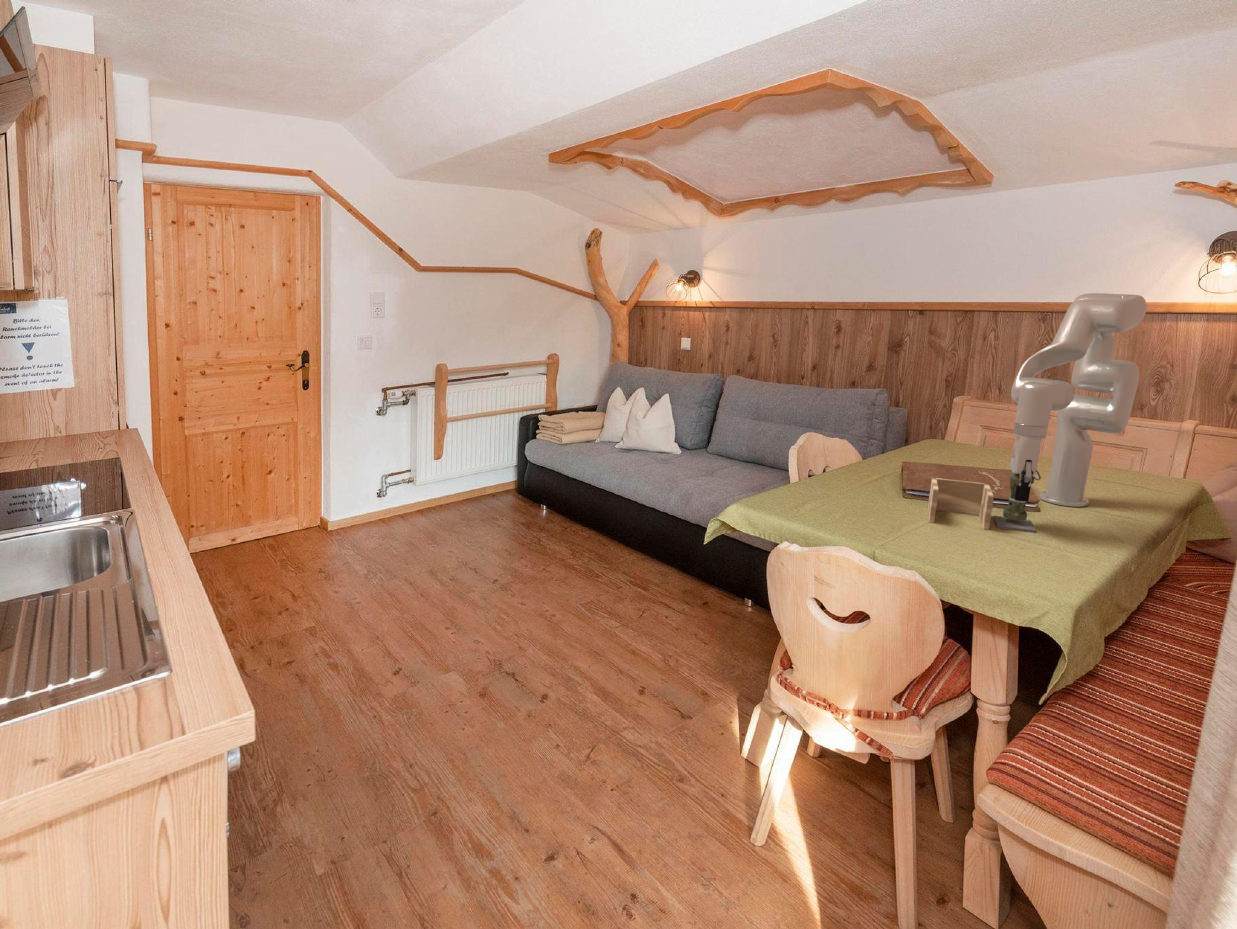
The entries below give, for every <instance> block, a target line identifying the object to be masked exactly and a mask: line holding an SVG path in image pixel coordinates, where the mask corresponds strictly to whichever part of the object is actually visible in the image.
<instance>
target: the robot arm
mask: <svg viewBox="0 0 1237 929" xmlns="http://www.w3.org/2000/svg"><path fill="white" fill-rule="evenodd" d="M1147 308H1148V306H1147V301H1146V299H1145V298H1144V296H1142V295H1140V294H1129V293H1128V294H1124V293H1123V294H1122V293H1106V292H1105V293H1103V292H1102V293H1101V292H1098V293H1097V292H1096V293H1095V292H1092V293H1085V294H1084V293H1083V294H1080V295H1078V296H1077V297H1075V299H1074V301H1073V302H1072V303H1071V304H1070V305H1069V307H1068V309H1067V310H1066V313H1065V314H1064V317H1063V319H1062V321H1061V323H1060V325H1059V328H1058V330H1057V331H1056V333H1055V336H1054V338H1053V340H1052V342H1051V343H1050V344H1049V345H1047V346H1045V347H1043V348H1042V349H1040V350H1038V351H1037V352H1035V353H1034V354H1032V355H1031V356H1029V357H1028V358H1027V359H1026V360H1025V361H1024V362H1023V363H1022V365H1021V366H1020V368H1019V371H1018V373H1017V374H1016V377H1015V379H1014V380H1013V381H1014V382H1013V383H1012V386H1011V390H1010V395H1011V399H1012V401H1013V402H1014V403H1015V404H1017V407H1016V414H1015V419H1014V426H1013V433H1012V434H1013V436H1014V437H1015V439H1014V443H1013V448H1012V453H1011V456H1010V462H1009V468H1010V470H1011V471H1012V472H1011V473H1014V474H1015V475H1017V474H1019V481H1018V485H1017V486H1016V492H1015V498H1014V499H1015V500H1017V501H1026V503H1027V502H1029V499H1030V494H1031V489H1032V486H1031V485H1032V484H1031V477H1032V476H1034V477H1035V475H1036V474H1037V472H1036V470H1037V468H1038V463H1039V456H1040V449H1041V440H1045V439H1047V434H1048V428H1049V424H1050V423H1049V422H1050V418H1051V411H1053V410H1056V422H1057V423H1056V424H1057V425H1056V433H1055V434H1056V436H1055V440H1054V441H1055V442H1054V448H1053V452H1052V459H1051V463H1050V469H1049V473H1048V474H1049V475H1048V480H1047V486H1046V490H1045V491H1041V492H1040V493H1039V498H1040V500H1042V501H1043V502H1047V503H1050V504H1054V505H1059V506H1064V507H1075V508H1077V507H1078V508H1079V507H1080V508H1081V507H1087V506H1088V505H1089V503H1090V500H1089V499H1088V498H1087V497H1085V492H1086V485H1087V480H1088V476H1089V470H1090V465H1091V460H1092V455H1093V450H1094V442H1093V440H1092V438H1091V435H1090V434H1089V432H1088V431H1093V432H1099V433H1106V434H1112V435H1113V434H1120V433H1122V432H1124V430H1125V429H1126V427H1127V425H1128V424H1129V420H1130V417H1131V413H1132V409H1133V406H1134V405H1133V404H1134V401H1135V397H1136V393H1137V389H1138V386H1139V382H1140V381H1139V380H1140V369H1139V366H1138V365H1137V364H1136V363H1135V362H1134V361H1129V360H1126V359H1125V360H1123V359H1122V360H1121V359H1113V355H1114V354H1113V353H1114V350H1115V346H1116V339H1115V336H1114V334H1121V333H1125V332H1127V331H1129V330H1132V329H1133V328H1135V327H1137V326H1138V325H1139V324H1140V323H1142V321H1143V320H1144V318H1145V316H1146V313H1147ZM1073 362H1074V366H1073V369H1072V374H1071V384H1070V383H1069V382H1067V381H1063V380H1055V379H1050V378H1041V377H1036V376H1037V375H1038V374H1040V373H1041V372H1043V371H1045V370H1048V369H1050V368H1053V367H1058V366H1061V365H1065V364H1070V363H1073ZM1075 388H1076V389H1077V390H1081V391H1086V392H1087V391H1088V392H1094V393H1101V394H1110V395H1112V398H1108V397H1106V398H1105V397H1101V396H1099V397H1098V396H1092V395H1084V394H1075ZM1022 471H1023V472H1025V474H1021V473H1022ZM1022 476H1023V477H1024V478H1022ZM1021 480H1022V481H1021Z"/></svg>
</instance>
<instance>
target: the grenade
mask: <svg viewBox="0 0 1237 929" xmlns="http://www.w3.org/2000/svg"><path fill="white" fill-rule="evenodd" d="M1021 474H1025V472H1023V471H1022V473H1021ZM1036 474H1037V476H1038V478H1037V477H1036V476H1035V475H1034V476H1032V477H1031V485H1034V483H1035V480H1036V481H1040V480H1041V479H1042V477H1041V474H1040V473H1039V471H1038V470H1037V469H1036ZM1022 478H1024V477H1023V476H1022ZM1018 481H1019V474H1017V475H1015V474H1014V473H1013V472H1011V473H1010V475H1009V483H1010V484H1009V485H1010V486H1009V487H1010V493H1009V499H1008V504H1007V507H1004V508H1003V512H1002V514H1003V515H1002V516H1003V517H1006V518H1009V519H1012V520H1018V521H1019V520H1028V519H1027V518H1028V513H1027V512H1028V511H1026V504H1027V502H1026V501H1017V500H1015V499H1014V498H1015V492H1016V486H1017V485H1018ZM1021 481H1022V480H1021Z"/></svg>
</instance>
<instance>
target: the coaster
mask: <svg viewBox="0 0 1237 929" xmlns="http://www.w3.org/2000/svg"><path fill="white" fill-rule="evenodd" d="M993 521H994V522H995V525H996V528H997V529H1003V530H1004V529H1005V530H1011V531H1012V530H1013V531H1018V532H1019V531H1020V532H1027V533H1034V534H1035V533H1036V534H1037V529H1036V527H1035V526H1034V523H1033V522H1032V520H1031V519H1026V520H1019V521H1018V520H1012V519H1009V518H1006V517H1004V516H999V515H993Z"/></svg>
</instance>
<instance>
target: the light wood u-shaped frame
mask: <svg viewBox="0 0 1237 929" xmlns="http://www.w3.org/2000/svg"><path fill="white" fill-rule="evenodd" d="M929 488H930V489H929V496H928V501H927V514H928V523H932V524H933V523H935V518H936V512H938V511H939V512H948V513H955V514H956V513H957V514H964V515H965V514H966V515H971V516H972V515H973V516H979V519H980V522H981V525H982V528H983V529H984V530H987V531H988V530H989V529H990V524H991V517H992V511H993V504H994V500H995V499H994V498H995V496H994V494H993V491H992V489H991V486H990V484H989V483H986V482H978V481H976V482H975V481H969V480H968V481H967V480H958V479H949V478H948V479H947V478H939V477H931V482H930V487H929Z"/></svg>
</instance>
